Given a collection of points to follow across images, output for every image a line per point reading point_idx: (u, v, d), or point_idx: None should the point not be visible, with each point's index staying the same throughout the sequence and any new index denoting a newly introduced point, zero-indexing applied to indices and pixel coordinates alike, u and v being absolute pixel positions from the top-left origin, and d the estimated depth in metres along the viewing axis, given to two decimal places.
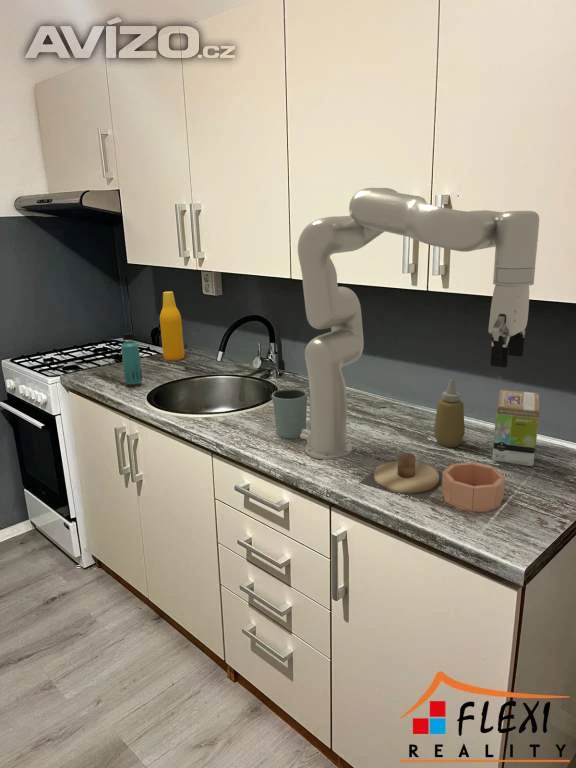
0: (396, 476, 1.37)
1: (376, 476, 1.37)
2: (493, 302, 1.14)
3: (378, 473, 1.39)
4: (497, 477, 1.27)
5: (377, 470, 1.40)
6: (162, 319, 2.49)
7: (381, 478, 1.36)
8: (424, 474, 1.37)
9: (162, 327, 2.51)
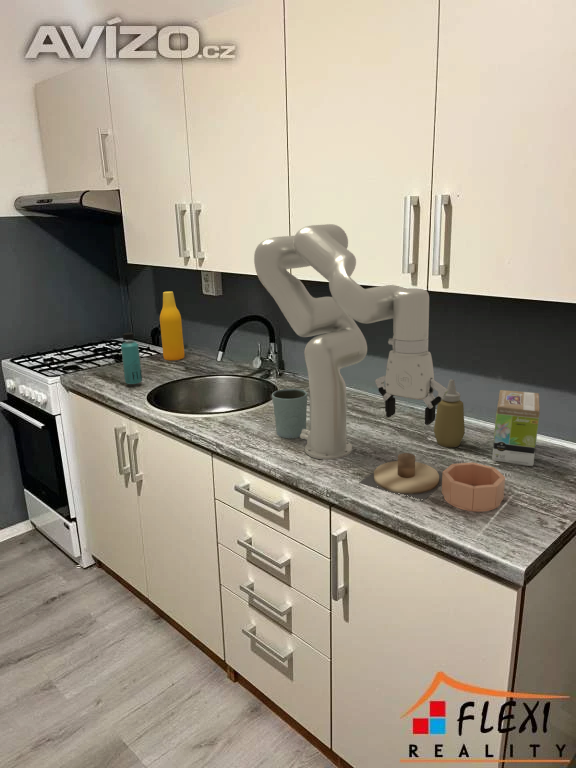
0: (396, 476, 1.37)
1: (376, 476, 1.37)
2: (425, 370, 1.25)
3: (378, 473, 1.39)
4: (497, 477, 1.27)
5: (377, 470, 1.40)
6: (162, 319, 2.49)
7: (381, 478, 1.36)
8: (424, 474, 1.37)
9: (162, 327, 2.51)
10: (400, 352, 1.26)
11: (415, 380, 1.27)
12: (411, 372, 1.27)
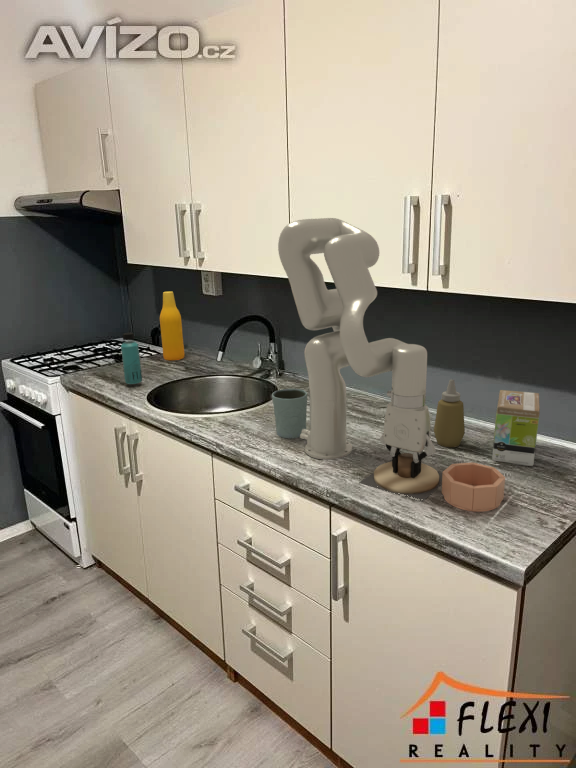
0: (396, 476, 1.37)
1: (376, 476, 1.37)
2: (422, 425, 1.29)
3: (378, 473, 1.39)
4: (497, 477, 1.27)
5: (377, 470, 1.40)
6: (162, 319, 2.49)
7: (381, 478, 1.36)
8: (424, 474, 1.37)
9: (162, 327, 2.51)
10: (398, 406, 1.30)
11: (412, 433, 1.31)
12: (408, 426, 1.31)
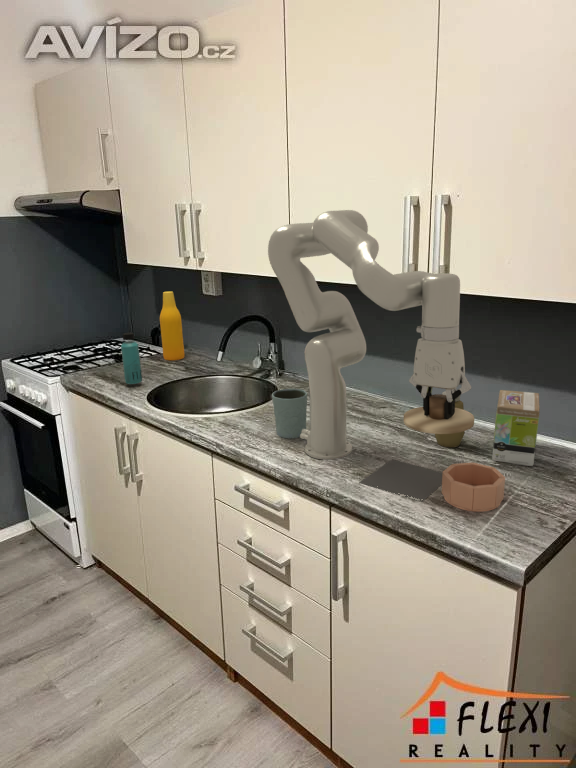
0: (428, 419, 1.27)
1: (406, 419, 1.28)
2: (457, 359, 1.20)
3: (408, 416, 1.29)
4: (497, 477, 1.27)
5: (407, 414, 1.31)
6: (162, 319, 2.49)
7: (412, 420, 1.27)
8: (457, 416, 1.28)
9: (162, 327, 2.51)
10: (430, 340, 1.21)
11: (446, 369, 1.22)
12: (441, 361, 1.22)
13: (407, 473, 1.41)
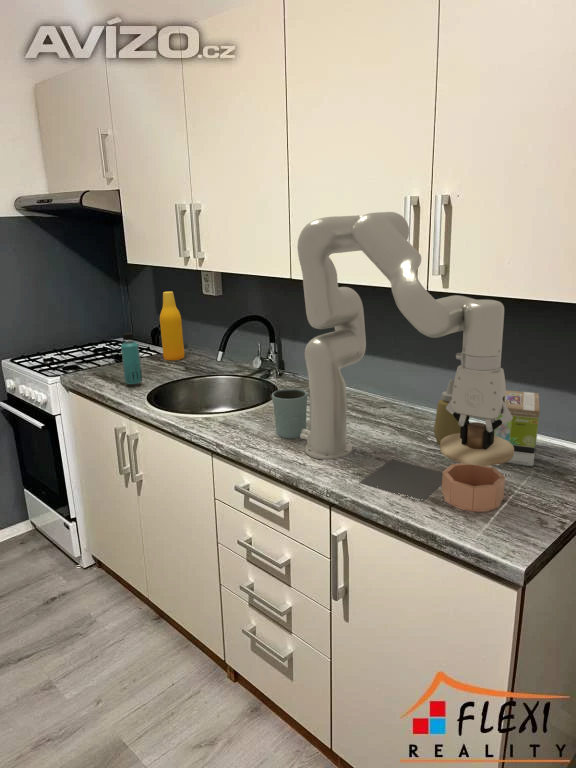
0: (466, 448, 1.23)
1: (443, 448, 1.24)
2: (499, 388, 1.16)
3: (445, 445, 1.25)
4: (497, 477, 1.27)
5: (443, 442, 1.27)
6: (162, 319, 2.49)
7: (449, 449, 1.23)
8: (496, 445, 1.24)
9: (162, 327, 2.51)
10: (471, 368, 1.17)
11: (487, 399, 1.18)
12: (483, 390, 1.18)
13: (407, 473, 1.41)
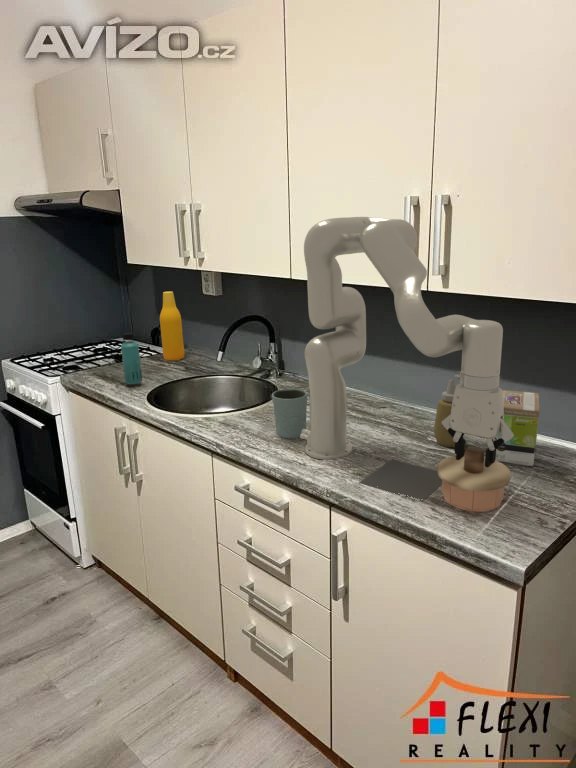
0: (463, 472, 1.25)
1: (441, 472, 1.26)
2: (497, 408, 1.18)
3: (442, 468, 1.27)
4: None
5: (441, 465, 1.29)
6: (162, 319, 2.49)
7: (447, 473, 1.25)
8: (493, 469, 1.26)
9: (162, 327, 2.51)
10: (470, 388, 1.18)
11: (485, 418, 1.19)
12: (481, 409, 1.19)
13: (407, 473, 1.41)
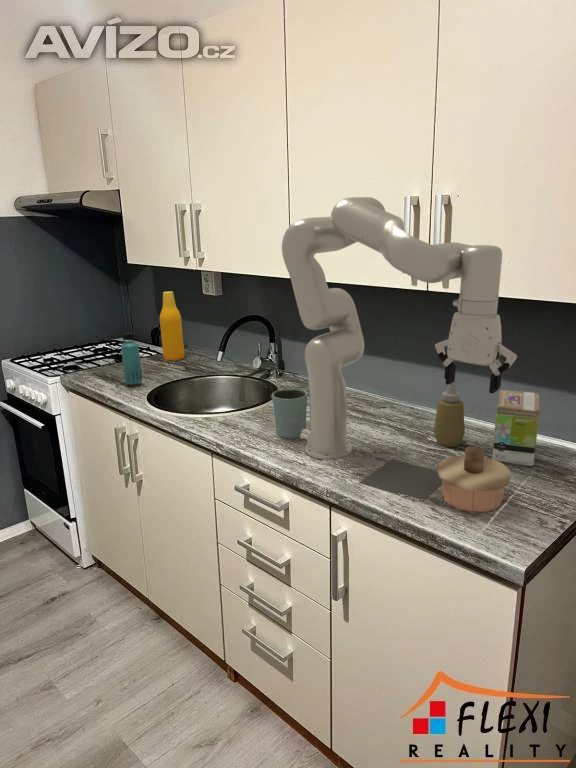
0: (463, 472, 1.25)
1: (441, 472, 1.26)
2: (494, 334, 1.17)
3: (442, 468, 1.27)
4: None
5: (441, 465, 1.29)
6: (162, 319, 2.49)
7: (447, 473, 1.25)
8: (493, 469, 1.26)
9: (162, 327, 2.51)
10: (467, 314, 1.17)
11: (482, 344, 1.18)
12: (478, 336, 1.18)
13: (407, 473, 1.41)
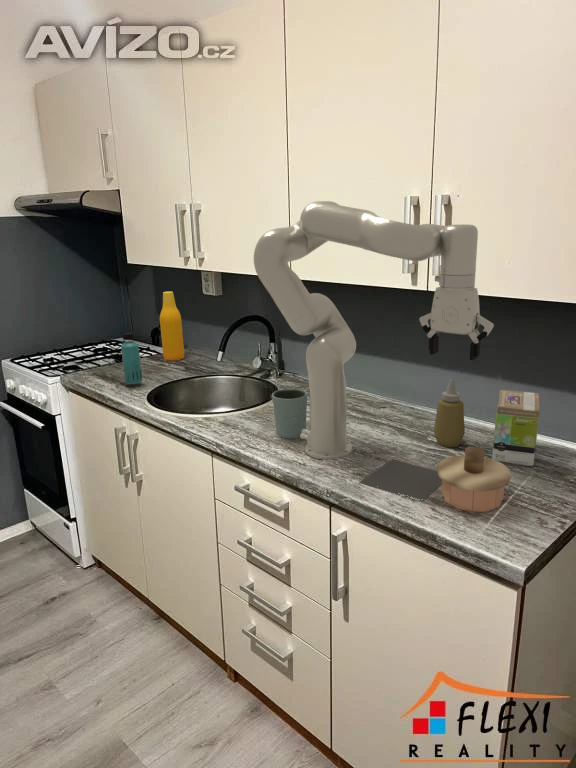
0: (463, 472, 1.25)
1: (441, 472, 1.26)
2: (473, 305, 1.28)
3: (442, 468, 1.27)
4: None
5: (441, 465, 1.29)
6: (162, 319, 2.49)
7: (447, 473, 1.25)
8: (493, 469, 1.26)
9: (162, 327, 2.51)
10: (448, 287, 1.29)
11: (462, 315, 1.29)
12: (458, 307, 1.29)
13: (407, 473, 1.41)
